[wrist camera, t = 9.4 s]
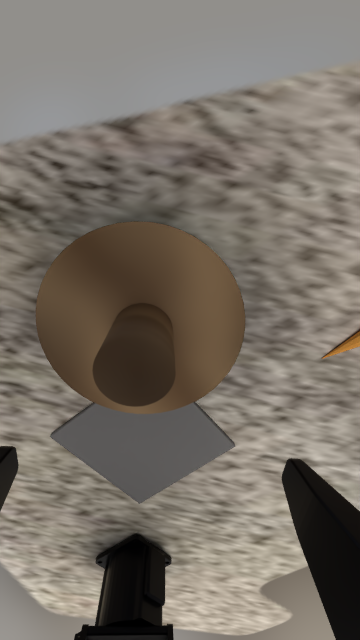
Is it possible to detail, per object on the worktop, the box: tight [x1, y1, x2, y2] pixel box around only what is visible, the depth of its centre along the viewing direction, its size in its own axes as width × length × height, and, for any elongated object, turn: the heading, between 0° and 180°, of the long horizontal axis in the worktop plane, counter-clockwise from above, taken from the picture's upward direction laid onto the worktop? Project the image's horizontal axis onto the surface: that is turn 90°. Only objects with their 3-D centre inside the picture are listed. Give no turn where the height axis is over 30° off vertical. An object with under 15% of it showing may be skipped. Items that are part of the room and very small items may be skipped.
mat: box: [50, 402, 235, 504], centre depth 24 cm, size 12×12×1 cm
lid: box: [36, 221, 245, 414], centre depth 12 cm, size 11×11×5 cm
